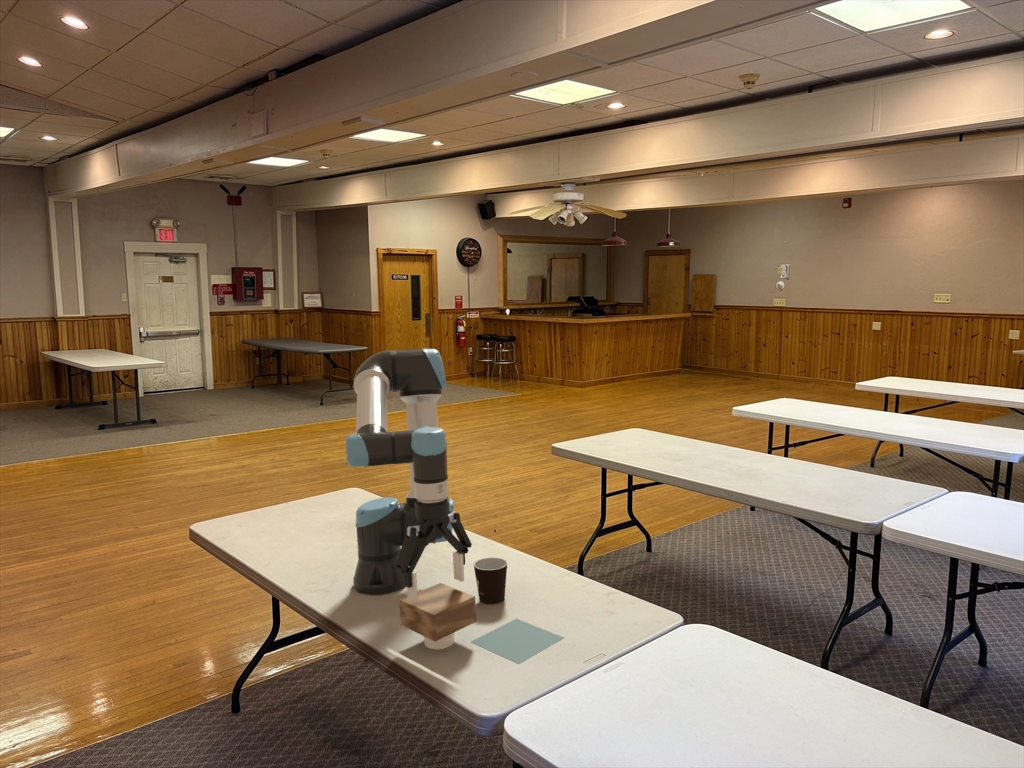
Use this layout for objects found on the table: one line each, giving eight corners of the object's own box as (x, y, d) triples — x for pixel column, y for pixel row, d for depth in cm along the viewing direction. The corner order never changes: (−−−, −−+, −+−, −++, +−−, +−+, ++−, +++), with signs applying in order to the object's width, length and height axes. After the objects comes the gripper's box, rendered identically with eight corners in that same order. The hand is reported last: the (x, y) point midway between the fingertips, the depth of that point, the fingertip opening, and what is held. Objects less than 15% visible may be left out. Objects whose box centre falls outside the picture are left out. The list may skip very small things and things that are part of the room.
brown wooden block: (400, 625, 158) (399, 599, 158) (441, 607, 167) (440, 582, 166) (435, 641, 150) (433, 614, 149) (476, 621, 159) (475, 596, 158)
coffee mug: (504, 609, 176) (503, 570, 175) (471, 607, 178) (469, 569, 176) (514, 590, 187) (512, 553, 186) (482, 588, 189) (481, 552, 188)
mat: (470, 644, 158) (470, 641, 158) (516, 620, 169) (516, 618, 169) (518, 666, 148) (518, 663, 148) (564, 640, 159) (564, 637, 159)
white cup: (429, 656, 154) (427, 612, 153) (417, 641, 161) (414, 599, 160) (462, 647, 157) (460, 604, 156) (449, 633, 164) (446, 592, 163)
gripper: (396, 516, 144) (402, 614, 146) (484, 488, 161) (488, 576, 164) (374, 509, 149) (380, 603, 152) (462, 482, 166) (466, 568, 169)
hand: (436, 589), depth 158 cm, fingers open, 13 cm apart
